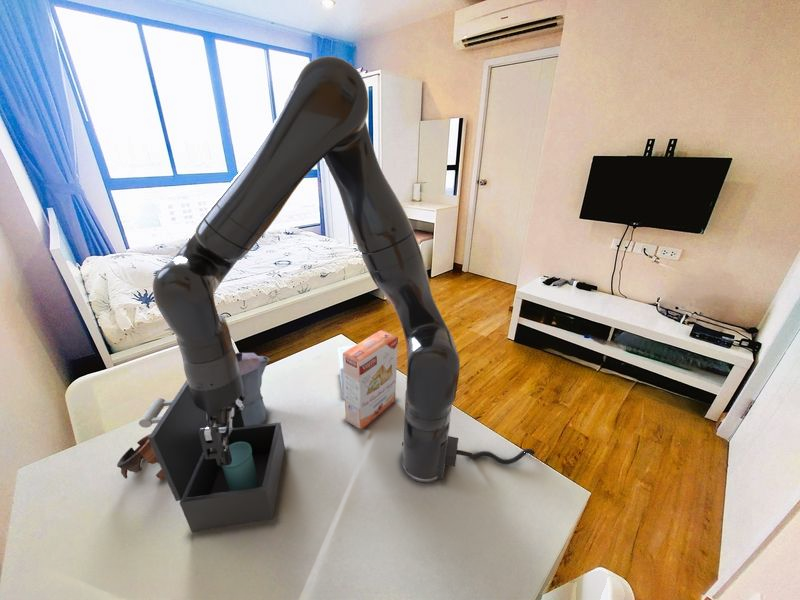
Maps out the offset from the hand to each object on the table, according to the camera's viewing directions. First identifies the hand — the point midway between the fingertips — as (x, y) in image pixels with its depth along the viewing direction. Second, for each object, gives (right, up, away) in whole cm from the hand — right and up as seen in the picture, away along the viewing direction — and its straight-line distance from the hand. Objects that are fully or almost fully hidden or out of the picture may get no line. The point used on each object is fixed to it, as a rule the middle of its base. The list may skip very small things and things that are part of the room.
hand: (232, 443), depth 60 cm
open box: (0, -11, +5) cm, 12 cm away
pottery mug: (-21, -9, +10) cm, 24 cm away
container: (0, -10, +5) cm, 11 cm away
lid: (-6, +4, -3) cm, 8 cm away
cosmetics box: (+17, +2, +34) cm, 38 cm away
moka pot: (-7, -4, +21) cm, 22 cm away
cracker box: (+24, -3, +25) cm, 35 cm away
